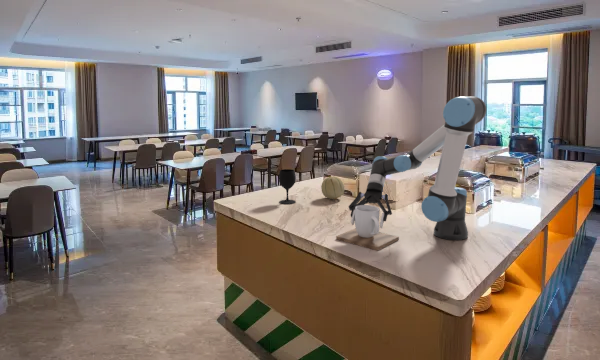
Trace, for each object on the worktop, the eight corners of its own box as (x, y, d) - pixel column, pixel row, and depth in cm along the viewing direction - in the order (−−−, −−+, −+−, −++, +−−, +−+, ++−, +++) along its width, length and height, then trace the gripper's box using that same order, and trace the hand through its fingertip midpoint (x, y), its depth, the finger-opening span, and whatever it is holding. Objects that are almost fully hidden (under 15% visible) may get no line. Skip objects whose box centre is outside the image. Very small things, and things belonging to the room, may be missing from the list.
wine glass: (276, 203, 258) (276, 171, 254) (282, 199, 268) (281, 168, 264) (292, 204, 255) (292, 172, 252) (298, 200, 265) (297, 169, 261)
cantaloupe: (343, 202, 261) (343, 178, 258) (319, 201, 264) (319, 177, 261) (345, 196, 275) (345, 174, 272) (323, 195, 278) (323, 173, 275)
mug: (387, 240, 188) (389, 212, 185) (366, 243, 184) (368, 215, 181) (369, 230, 202) (371, 203, 199) (349, 233, 197) (350, 206, 194)
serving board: (398, 239, 193) (398, 236, 193) (377, 250, 180) (377, 247, 180) (358, 230, 208) (358, 227, 207) (336, 239, 194) (336, 236, 194)
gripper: (402, 192, 199) (394, 232, 188) (352, 187, 208) (341, 225, 198) (401, 183, 193) (392, 224, 182) (349, 179, 203) (338, 217, 192)
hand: (366, 225), depth 190 cm, fingers open, 12 cm apart
